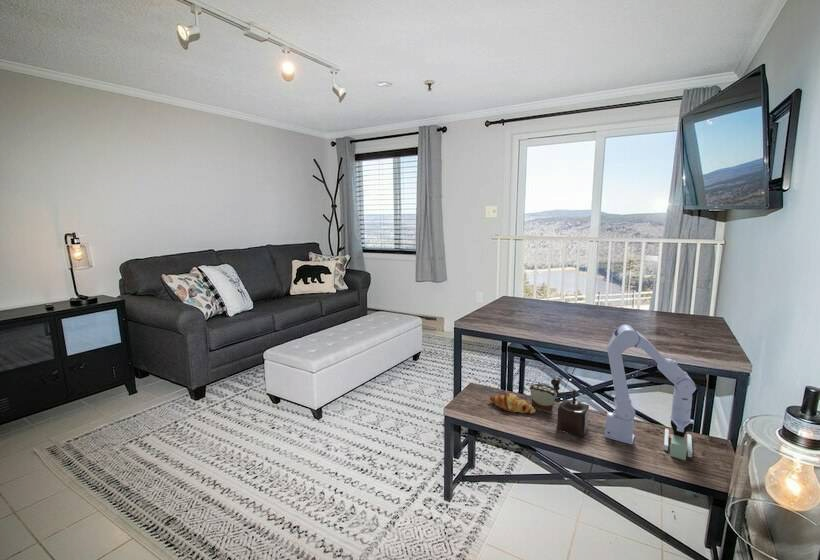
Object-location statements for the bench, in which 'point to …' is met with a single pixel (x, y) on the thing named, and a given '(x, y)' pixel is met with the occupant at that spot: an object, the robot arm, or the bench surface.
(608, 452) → the bench surface
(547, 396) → the food container
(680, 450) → the block
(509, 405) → the croissant
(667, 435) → the channel
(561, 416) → the manual coffee grinder
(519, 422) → the bench surface
